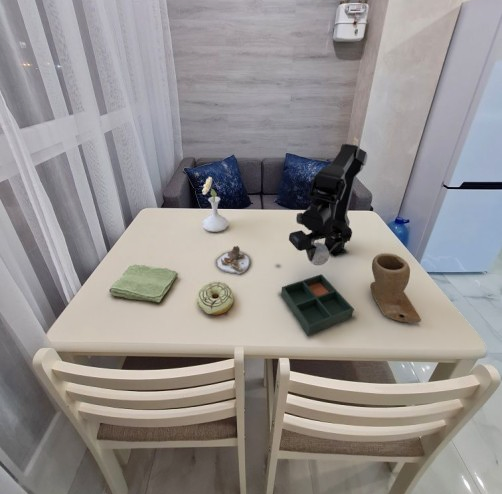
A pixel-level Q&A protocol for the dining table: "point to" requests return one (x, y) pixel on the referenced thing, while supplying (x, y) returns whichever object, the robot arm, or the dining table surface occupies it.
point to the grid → (316, 304)
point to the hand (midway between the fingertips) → (317, 257)
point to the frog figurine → (234, 261)
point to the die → (320, 254)
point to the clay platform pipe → (392, 287)
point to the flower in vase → (213, 211)
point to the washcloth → (143, 283)
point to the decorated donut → (217, 304)
